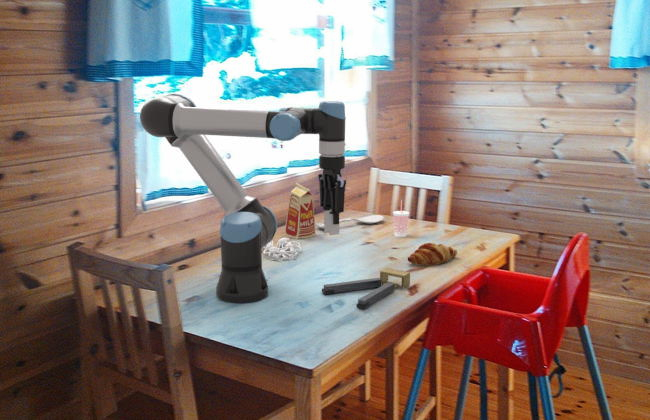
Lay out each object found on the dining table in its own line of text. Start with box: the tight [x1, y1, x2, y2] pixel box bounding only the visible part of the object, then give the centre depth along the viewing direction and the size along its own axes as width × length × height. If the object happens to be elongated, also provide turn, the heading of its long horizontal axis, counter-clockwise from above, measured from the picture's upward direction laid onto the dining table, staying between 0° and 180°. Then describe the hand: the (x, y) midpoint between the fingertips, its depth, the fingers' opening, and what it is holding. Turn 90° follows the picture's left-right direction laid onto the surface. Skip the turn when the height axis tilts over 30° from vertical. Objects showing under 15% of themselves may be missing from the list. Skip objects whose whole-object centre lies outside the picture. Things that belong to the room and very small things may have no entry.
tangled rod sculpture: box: [262, 237, 302, 261], centre depth 257 cm, size 19×14×4 cm
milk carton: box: [283, 182, 316, 240], centre depth 278 cm, size 9×9×20 cm
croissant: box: [407, 242, 458, 266], centre depth 247 cm, size 21×10×8 cm, turn 124°
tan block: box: [379, 267, 411, 289], centre depth 223 cm, size 4×8×4 cm, turn 57°
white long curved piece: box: [315, 214, 385, 230], centre depth 295 cm, size 9×32×4 cm, turn 122°
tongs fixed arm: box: [356, 281, 398, 310], centre depth 213 cm, size 23×5×2 cm, turn 147°
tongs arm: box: [321, 277, 383, 295], centre depth 218 cm, size 18×2×2 cm, turn 112°
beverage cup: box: [392, 199, 410, 238], centre depth 279 cm, size 6×6×14 cm
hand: (331, 232), depth 219 cm, fingers open, 3 cm apart
